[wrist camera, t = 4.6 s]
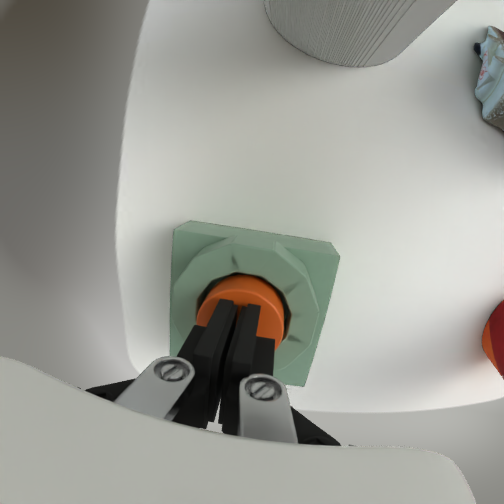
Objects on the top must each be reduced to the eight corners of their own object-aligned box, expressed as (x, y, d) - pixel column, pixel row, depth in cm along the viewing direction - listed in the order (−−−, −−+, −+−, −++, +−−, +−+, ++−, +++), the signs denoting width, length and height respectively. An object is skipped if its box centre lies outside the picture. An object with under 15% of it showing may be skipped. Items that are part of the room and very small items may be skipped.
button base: (190, 215, 16) (158, 231, 12) (332, 238, 16) (350, 262, 11) (183, 339, 18) (159, 381, 14) (302, 360, 18) (305, 408, 14)
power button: (209, 267, 13) (198, 282, 11) (290, 281, 13) (291, 297, 11) (203, 335, 14) (194, 355, 12) (276, 348, 14) (274, 370, 12)
